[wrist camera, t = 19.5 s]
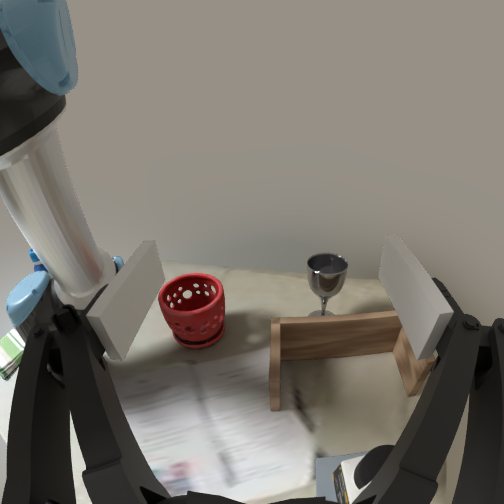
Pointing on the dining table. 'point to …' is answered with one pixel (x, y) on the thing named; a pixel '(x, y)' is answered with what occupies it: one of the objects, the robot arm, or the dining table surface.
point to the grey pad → (329, 474)
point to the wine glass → (326, 278)
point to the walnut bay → (343, 344)
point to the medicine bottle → (358, 473)
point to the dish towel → (10, 352)
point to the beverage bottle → (38, 263)
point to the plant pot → (194, 310)
